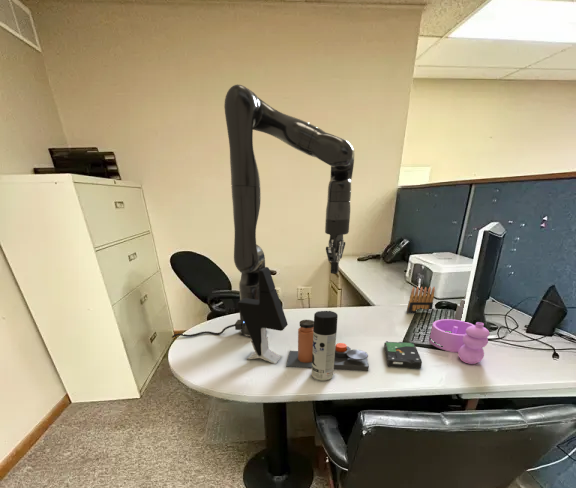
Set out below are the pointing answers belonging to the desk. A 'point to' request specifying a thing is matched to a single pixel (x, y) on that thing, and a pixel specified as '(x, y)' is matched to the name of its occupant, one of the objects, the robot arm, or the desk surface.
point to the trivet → (296, 361)
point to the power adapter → (459, 310)
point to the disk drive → (402, 355)
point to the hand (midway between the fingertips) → (334, 273)
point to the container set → (460, 338)
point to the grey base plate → (349, 362)
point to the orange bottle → (305, 341)
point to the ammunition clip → (420, 299)
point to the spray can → (324, 345)
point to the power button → (341, 347)
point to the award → (263, 316)
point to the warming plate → (357, 354)
